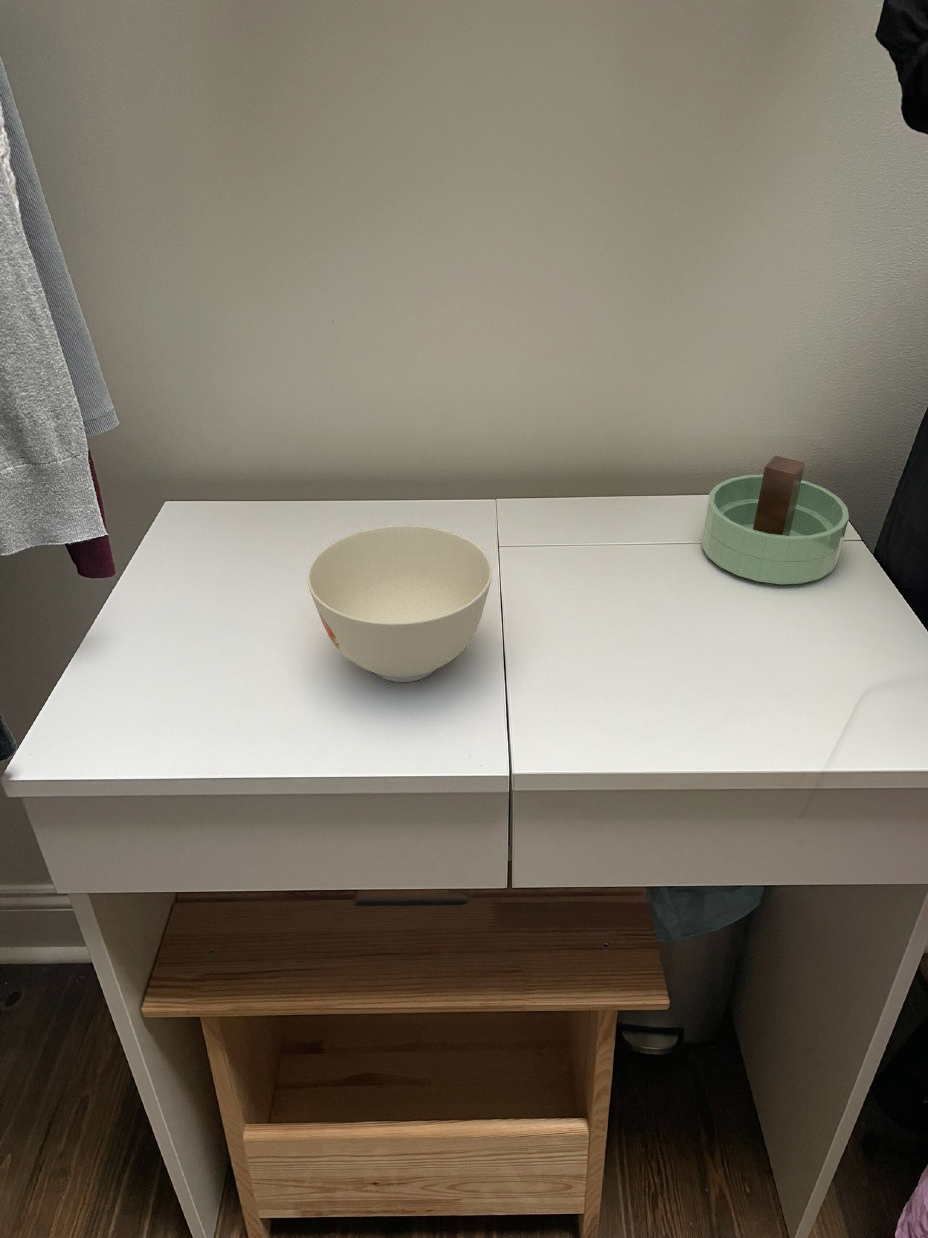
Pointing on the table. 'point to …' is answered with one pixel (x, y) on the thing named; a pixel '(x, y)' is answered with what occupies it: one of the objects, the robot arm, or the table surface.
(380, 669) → the bowl
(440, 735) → the table surface
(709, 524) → the dish
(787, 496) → the block
